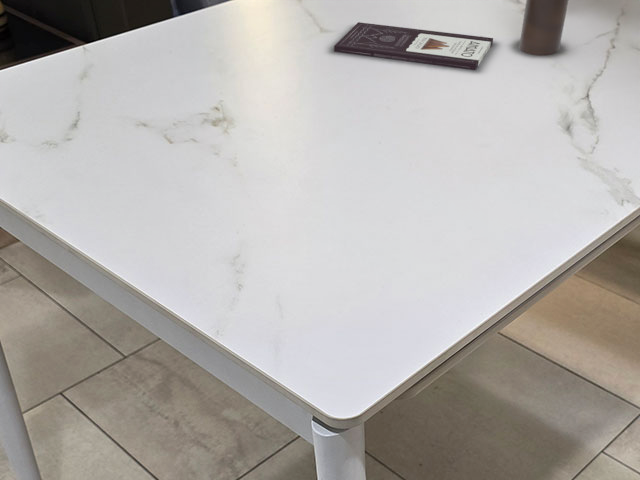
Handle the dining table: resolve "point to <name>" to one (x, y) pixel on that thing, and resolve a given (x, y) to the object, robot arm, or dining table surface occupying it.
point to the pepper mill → (543, 26)
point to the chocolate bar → (415, 45)
